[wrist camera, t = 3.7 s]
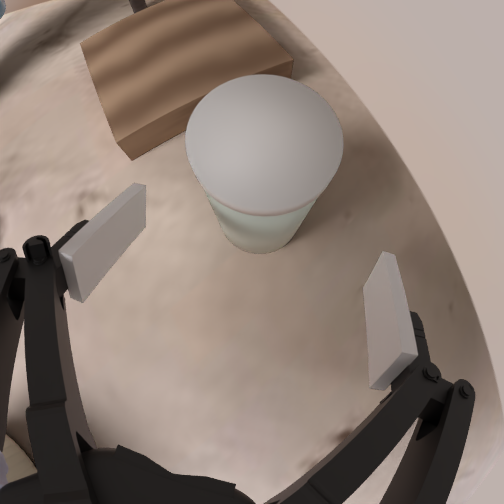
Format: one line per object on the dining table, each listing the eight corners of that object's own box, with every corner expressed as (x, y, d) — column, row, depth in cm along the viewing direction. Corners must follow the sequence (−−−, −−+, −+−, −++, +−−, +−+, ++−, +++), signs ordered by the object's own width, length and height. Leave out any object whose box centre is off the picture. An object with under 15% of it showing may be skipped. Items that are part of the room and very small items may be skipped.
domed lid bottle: (204, 199, 27) (161, 113, 13) (274, 162, 28) (289, 57, 14) (243, 270, 26) (232, 240, 13) (315, 229, 27) (372, 164, 13)
